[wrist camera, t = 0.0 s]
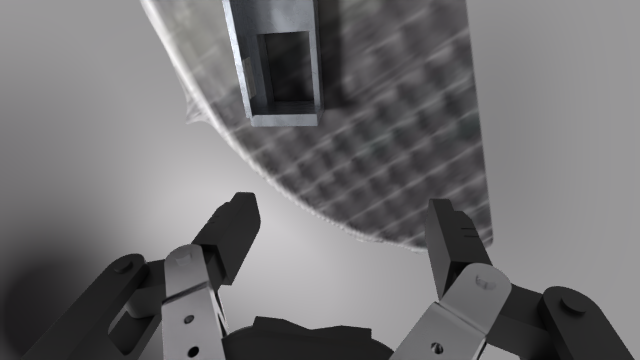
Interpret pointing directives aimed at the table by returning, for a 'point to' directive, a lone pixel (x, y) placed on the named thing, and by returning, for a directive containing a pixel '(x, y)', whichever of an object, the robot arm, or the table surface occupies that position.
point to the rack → (252, 61)
